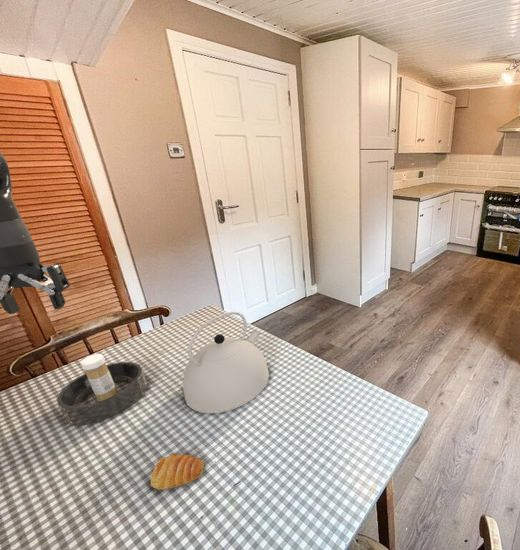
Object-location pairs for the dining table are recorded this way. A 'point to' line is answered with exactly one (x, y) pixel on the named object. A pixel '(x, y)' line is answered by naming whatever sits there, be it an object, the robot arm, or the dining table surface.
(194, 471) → the pastry
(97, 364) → the sprinkles bottle
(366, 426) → the dining table surface
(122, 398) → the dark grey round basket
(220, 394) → the kettle
